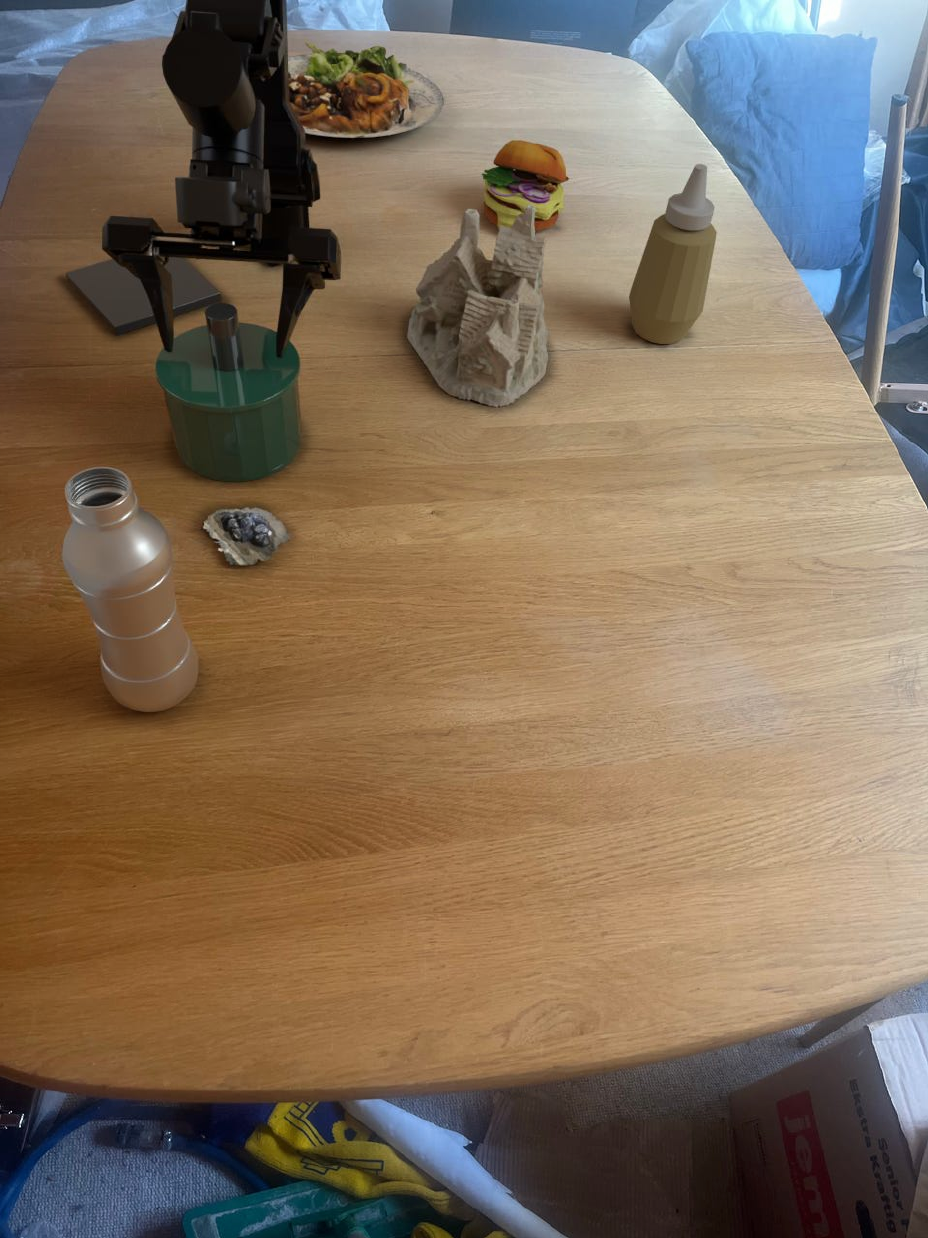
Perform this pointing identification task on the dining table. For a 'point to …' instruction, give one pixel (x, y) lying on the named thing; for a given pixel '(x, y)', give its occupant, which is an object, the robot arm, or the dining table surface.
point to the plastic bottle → (128, 591)
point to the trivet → (138, 292)
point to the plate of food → (359, 93)
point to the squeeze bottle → (675, 265)
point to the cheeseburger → (525, 184)
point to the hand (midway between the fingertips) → (223, 354)
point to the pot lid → (226, 365)
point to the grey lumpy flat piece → (246, 534)
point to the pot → (238, 438)
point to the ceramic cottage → (484, 314)
